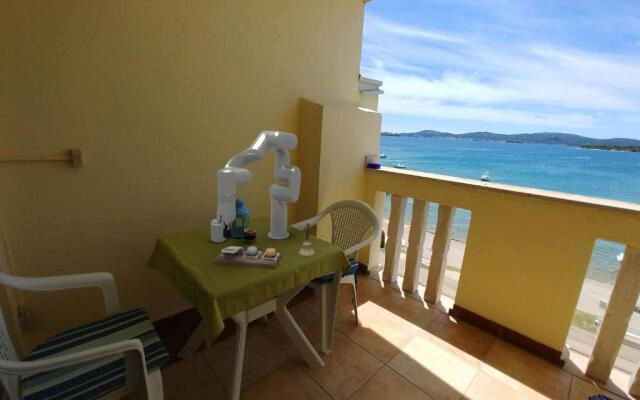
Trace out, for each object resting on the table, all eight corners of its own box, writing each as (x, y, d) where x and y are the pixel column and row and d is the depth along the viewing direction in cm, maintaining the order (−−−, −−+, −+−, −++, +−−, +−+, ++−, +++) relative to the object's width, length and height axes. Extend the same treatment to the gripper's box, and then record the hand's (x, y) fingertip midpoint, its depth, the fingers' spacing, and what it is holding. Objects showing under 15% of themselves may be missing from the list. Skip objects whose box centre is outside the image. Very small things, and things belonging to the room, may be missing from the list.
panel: (226, 251, 132) (226, 242, 131) (281, 256, 130) (281, 247, 129) (214, 263, 120) (213, 253, 118) (274, 268, 118) (274, 259, 116)
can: (220, 244, 140) (220, 223, 138) (208, 242, 142) (207, 221, 139) (228, 239, 148) (227, 218, 145) (216, 237, 149) (215, 217, 146)
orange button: (267, 252, 126) (267, 247, 125) (276, 252, 125) (276, 248, 125) (264, 256, 121) (264, 251, 121) (274, 256, 121) (274, 252, 120)
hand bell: (295, 253, 135) (296, 223, 131) (305, 248, 142) (306, 220, 138) (308, 257, 130) (309, 227, 127) (317, 252, 137) (319, 223, 134)
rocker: (231, 248, 130) (231, 245, 130) (242, 249, 130) (243, 246, 130) (221, 252, 119) (221, 249, 119) (234, 253, 119) (234, 250, 119)
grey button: (249, 250, 126) (249, 245, 126) (258, 251, 126) (258, 246, 125) (245, 254, 122) (245, 249, 121) (255, 255, 122) (255, 250, 121)
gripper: (226, 193, 121) (226, 231, 125) (210, 200, 107) (211, 242, 111) (241, 195, 121) (241, 232, 125) (227, 202, 106) (228, 244, 110)
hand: (227, 237), depth 118 cm, fingers closed
